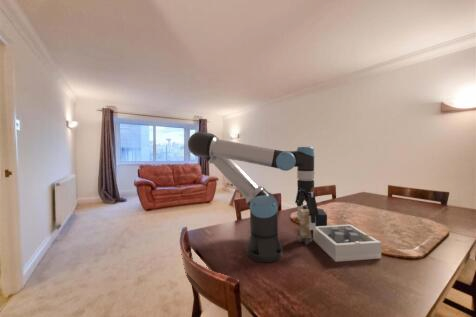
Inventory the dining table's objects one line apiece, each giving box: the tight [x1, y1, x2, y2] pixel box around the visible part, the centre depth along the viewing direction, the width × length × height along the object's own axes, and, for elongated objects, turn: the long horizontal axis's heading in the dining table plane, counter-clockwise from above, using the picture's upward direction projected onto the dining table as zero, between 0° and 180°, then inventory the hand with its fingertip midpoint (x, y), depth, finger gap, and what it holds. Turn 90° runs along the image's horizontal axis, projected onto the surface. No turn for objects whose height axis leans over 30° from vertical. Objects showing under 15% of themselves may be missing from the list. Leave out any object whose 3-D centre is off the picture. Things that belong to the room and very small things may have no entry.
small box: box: [316, 208, 328, 226], centre depth 108 cm, size 11×6×10 cm, turn 168°
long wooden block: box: [298, 209, 313, 245], centre depth 96 cm, size 6×6×15 cm
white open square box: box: [312, 224, 382, 263], centre depth 88 cm, size 19×19×7 cm
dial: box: [328, 227, 364, 243], centre depth 88 cm, size 13×14×6 cm
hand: (305, 223), depth 95 cm, fingers open, 13 cm apart
